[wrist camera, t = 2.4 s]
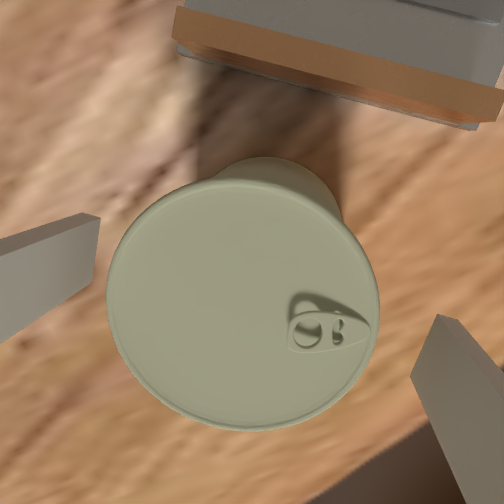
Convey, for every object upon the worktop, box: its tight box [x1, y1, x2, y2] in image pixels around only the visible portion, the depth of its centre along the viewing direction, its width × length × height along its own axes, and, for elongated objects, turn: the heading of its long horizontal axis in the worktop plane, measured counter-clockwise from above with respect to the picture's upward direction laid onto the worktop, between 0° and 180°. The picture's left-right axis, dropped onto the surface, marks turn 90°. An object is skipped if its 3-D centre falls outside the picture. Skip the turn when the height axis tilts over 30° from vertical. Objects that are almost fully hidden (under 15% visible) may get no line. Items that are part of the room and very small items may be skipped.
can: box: [106, 157, 380, 432], centre depth 18 cm, size 9×9×12 cm
